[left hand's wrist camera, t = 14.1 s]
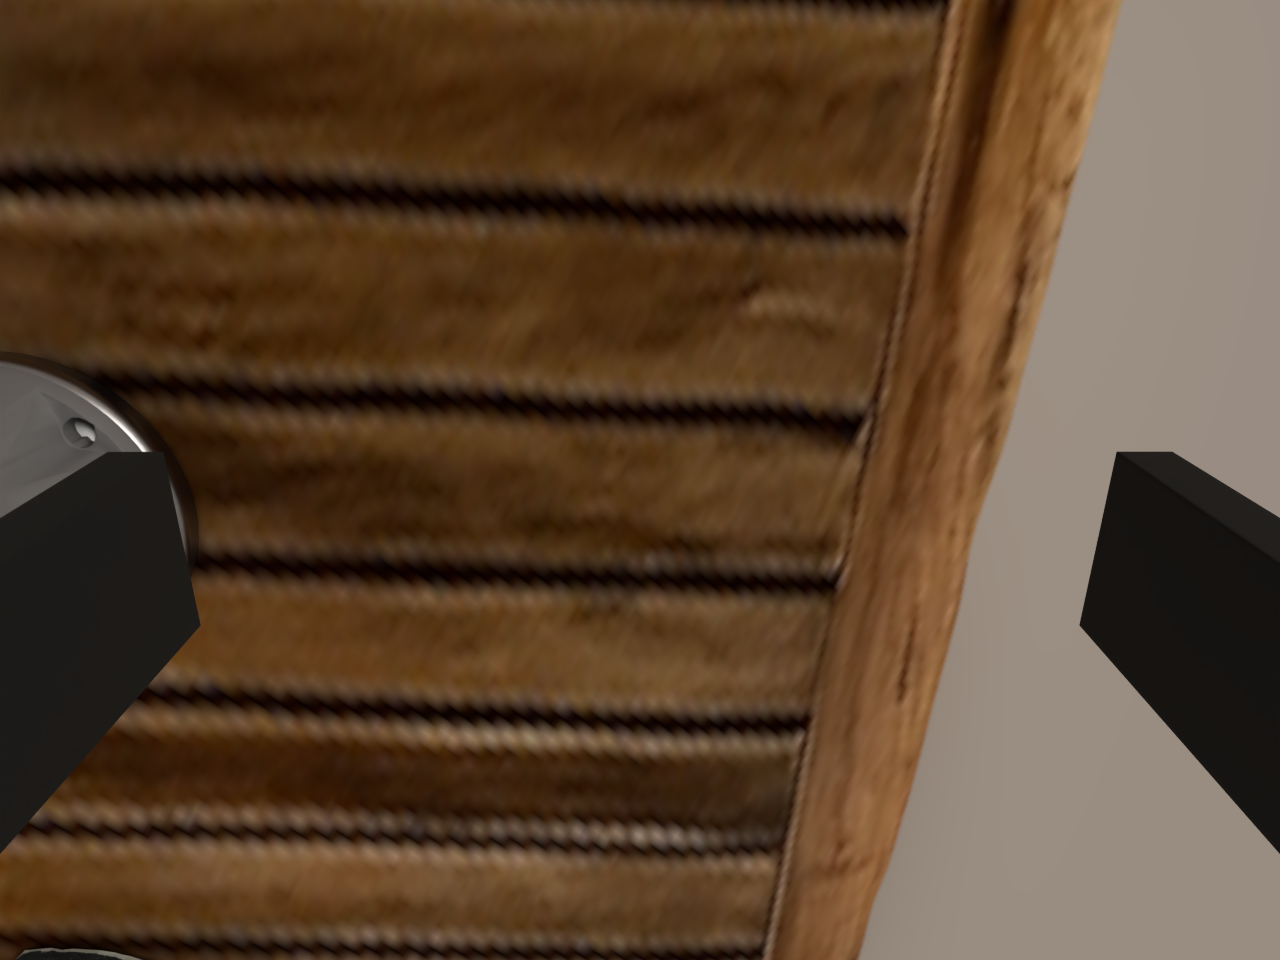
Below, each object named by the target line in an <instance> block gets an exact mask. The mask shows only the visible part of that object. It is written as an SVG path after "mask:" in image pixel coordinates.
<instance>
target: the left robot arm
mask: <svg viewBox="0 0 1280 960" xmlns="http://www.w3.org/2000/svg"><path fill="white" fill-rule="evenodd" d="M198 539H199V535H198V520H197V513H196V508H195V504H194V500H193V496H192V493H191V490H190V487H189V485H188V482H187V479H186V477H185V475H184V473H183V471H182V469H181V467H180V465H179V463H178V461H177V460H176V458H175V456H174V455H173V453H172V451H171V450H170V449H169V447H168V446H167V444H166V443H165V442H164V440H163V439H162V437H161V436H160V435H159V434H158V433H157V431H156V430H155V429H154V428H153V427H152V426H151V424H150V423H149V422H148V421H147V420H146V419H145V418H144V417H143V416H142V415H141V414H140V413H139V412H138V411H137V410H135V409H134V408H133V407H132V406H131V405H130V404H128V403H127V402H126V401H125V400H124V399H122V398H121V397H119V396H118V395H117V394H115V393H114V392H113V391H111V390H110V389H108V388H107V387H105V386H103V385H102V384H100V383H99V382H97V381H95V380H94V379H92V378H90V377H88V376H86V375H84V374H82V373H80V372H78V371H76V370H73V369H71V368H69V367H66V366H64V365H61V364H58V363H55V362H52V361H49V360H46V359H43V358H39V357H34V356H30V355H25V354H18V353H11V352H0V853H1V852H2V851H3V850H4V849H5V848H6V847H7V845H8V844H9V843H10V842H11V841H12V840H13V839H14V837H15V836H16V835H17V834H18V833H19V832H20V831H21V829H22V828H23V827H24V826H25V825H26V824H27V823H28V821H29V820H30V819H31V818H32V817H33V816H34V815H35V813H36V812H37V811H38V810H39V809H40V808H41V807H42V805H43V804H44V803H45V802H46V801H47V800H48V799H49V798H50V796H51V795H52V794H53V793H54V792H55V791H56V790H57V788H58V787H59V786H60V785H61V784H62V783H63V782H64V780H65V779H66V778H67V777H68V776H69V775H70V774H71V772H72V771H73V770H74V769H75V768H76V767H77V766H78V764H79V763H80V762H81V761H82V760H83V759H84V758H85V756H86V755H87V754H88V753H89V752H90V751H91V750H92V748H93V747H94V746H95V745H96V744H97V743H98V742H99V740H100V739H101V738H102V737H103V736H104V735H105V734H106V732H107V731H108V730H109V729H110V728H111V727H112V726H113V725H114V723H115V722H116V721H117V720H118V719H119V718H120V717H121V715H122V714H123V713H124V712H125V711H126V710H127V709H128V707H129V706H130V705H131V704H132V703H133V702H134V701H135V699H136V698H137V697H138V696H139V695H140V694H141V693H142V691H143V690H144V689H145V688H146V687H147V686H148V685H149V683H150V682H151V681H152V680H153V679H154V678H155V677H156V675H157V674H158V673H159V672H160V671H161V670H162V669H163V667H164V666H165V665H166V664H167V663H168V662H169V661H170V659H171V658H172V657H173V656H174V655H175V654H176V653H177V652H178V650H179V649H180V648H181V647H182V646H183V645H184V644H185V642H186V641H187V640H188V639H189V638H190V637H191V636H192V634H193V633H194V632H195V631H196V630H197V629H198V628H199V626H200V621H199V616H198V611H197V607H196V602H195V597H194V593H193V588H192V583H191V579H190V578H191V575H192V572H193V569H194V566H195V562H196V557H197V552H198ZM1080 626H1081V628H1082V629H1083V630H1084V631H1085V632H1086V633H1087V634H1088V635H1089V637H1090V638H1091V639H1092V640H1093V641H1094V642H1095V643H1096V645H1097V646H1098V647H1099V648H1100V649H1101V650H1102V652H1103V653H1104V654H1105V655H1106V656H1107V657H1108V658H1109V659H1110V661H1111V662H1112V663H1113V664H1114V665H1115V666H1116V667H1117V669H1118V670H1119V671H1120V672H1121V673H1122V674H1123V675H1124V677H1125V678H1126V679H1127V680H1128V681H1129V682H1130V683H1131V685H1132V686H1133V687H1134V688H1135V689H1136V690H1137V691H1138V693H1139V694H1140V695H1141V696H1142V697H1143V698H1144V699H1145V701H1146V702H1147V703H1148V704H1149V705H1150V706H1151V707H1152V709H1153V710H1154V711H1155V712H1156V713H1157V714H1158V715H1159V717H1160V718H1161V719H1162V720H1163V721H1164V722H1165V723H1166V725H1167V726H1168V727H1169V728H1170V729H1171V730H1172V731H1173V732H1174V734H1175V735H1176V736H1177V737H1178V738H1179V739H1180V740H1181V742H1182V743H1183V744H1184V745H1185V746H1186V747H1187V748H1188V750H1189V751H1190V752H1191V753H1192V754H1193V755H1194V756H1195V758H1196V759H1197V760H1198V761H1199V762H1200V763H1201V764H1202V766H1203V767H1204V768H1205V769H1206V770H1207V771H1208V772H1209V774H1210V775H1211V776H1212V777H1213V778H1214V779H1215V780H1216V782H1217V783H1218V784H1219V785H1220V786H1221V787H1222V788H1223V789H1224V791H1225V792H1226V793H1227V794H1228V795H1229V796H1230V798H1231V799H1232V800H1233V801H1234V802H1235V803H1236V804H1237V805H1238V807H1239V808H1240V809H1241V810H1242V811H1243V812H1244V813H1245V815H1246V816H1247V817H1248V818H1249V819H1250V820H1251V821H1252V823H1253V824H1254V825H1255V826H1256V827H1257V828H1258V829H1259V831H1260V832H1261V833H1262V834H1263V835H1264V836H1265V837H1266V839H1267V840H1268V841H1269V842H1270V843H1271V844H1272V845H1273V847H1274V848H1275V849H1276V850H1277V851H1278V852H1279V853H1280V518H1279V517H1277V516H1276V515H1274V514H1273V513H1271V512H1269V511H1268V510H1266V509H1264V508H1263V507H1261V506H1259V505H1258V504H1256V503H1255V502H1253V501H1251V500H1250V499H1248V498H1247V497H1245V496H1243V495H1242V494H1240V493H1238V492H1237V491H1235V490H1233V489H1232V488H1230V487H1229V486H1227V485H1225V484H1224V483H1222V482H1221V481H1219V480H1217V479H1216V478H1214V477H1212V476H1211V475H1209V474H1208V473H1206V472H1204V471H1203V470H1201V469H1199V468H1198V467H1196V466H1195V465H1193V464H1191V463H1190V462H1188V461H1186V460H1185V459H1183V458H1182V457H1180V456H1178V455H1177V454H1175V453H1173V452H1117V453H1116V458H1115V462H1114V467H1113V471H1112V476H1111V481H1110V485H1109V490H1108V495H1107V499H1106V504H1105V509H1104V513H1103V518H1102V523H1101V528H1100V532H1099V537H1098V541H1097V546H1096V551H1095V555H1094V560H1093V565H1092V569H1091V574H1090V579H1089V583H1088V588H1087V593H1086V597H1085V602H1084V607H1083V611H1082V616H1081V621H1080Z"/></svg>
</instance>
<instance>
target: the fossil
mask: <svg viewBox="0 0 1280 960" xmlns="http://www.w3.org/2000/svg"><path fill="white" fill-rule="evenodd" d="M15 960H142V959H138V958H135V957H132V956H127V955H122V954H118V953H115V952H108V951H102V950H85V949H65V950H60V949H55V948H45V949H32V950H25V951H24V952H23V953H22V954H21V955H20V956H19V957H17V958H16V959H15Z"/></svg>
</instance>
